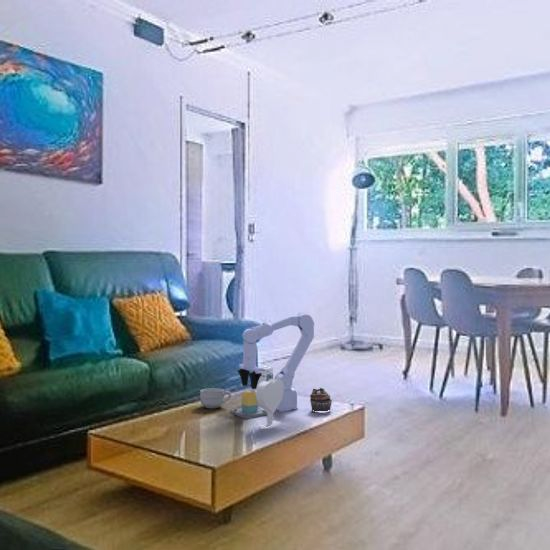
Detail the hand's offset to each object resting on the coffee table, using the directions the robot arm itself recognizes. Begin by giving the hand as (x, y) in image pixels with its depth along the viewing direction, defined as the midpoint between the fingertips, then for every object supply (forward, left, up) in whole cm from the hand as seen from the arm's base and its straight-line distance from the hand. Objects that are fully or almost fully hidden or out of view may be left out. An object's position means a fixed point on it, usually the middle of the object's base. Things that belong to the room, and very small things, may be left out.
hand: (249, 387), depth 272 cm
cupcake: (-26, +18, -11) cm, 34 cm away
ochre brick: (+3, +5, -6) cm, 9 cm away
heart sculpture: (+5, +24, -11) cm, 27 cm away
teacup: (+10, -13, -11) cm, 19 cm away
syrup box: (-20, -18, -11) cm, 29 cm away
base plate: (+3, +5, -10) cm, 12 cm away
